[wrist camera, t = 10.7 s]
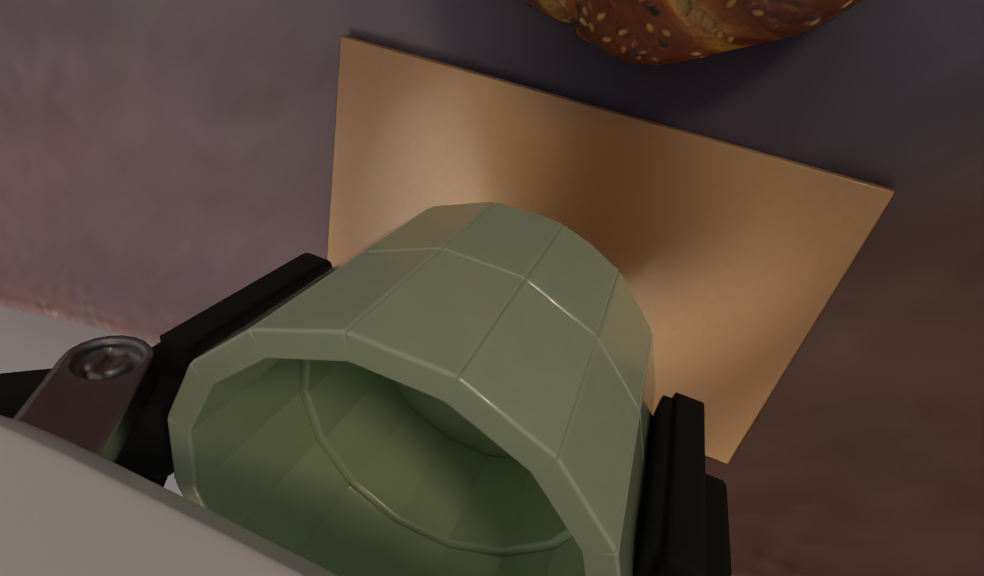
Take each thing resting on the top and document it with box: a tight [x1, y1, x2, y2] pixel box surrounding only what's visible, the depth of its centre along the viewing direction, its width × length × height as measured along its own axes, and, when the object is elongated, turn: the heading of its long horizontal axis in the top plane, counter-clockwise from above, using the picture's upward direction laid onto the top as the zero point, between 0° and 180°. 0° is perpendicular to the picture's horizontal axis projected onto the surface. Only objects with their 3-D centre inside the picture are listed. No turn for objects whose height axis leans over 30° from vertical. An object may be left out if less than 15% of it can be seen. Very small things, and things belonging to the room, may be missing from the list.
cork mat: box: [327, 36, 894, 463], centre depth 18 cm, size 16×10×1 cm, turn 78°
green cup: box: [167, 202, 656, 576], centre depth 10 cm, size 7×7×6 cm
